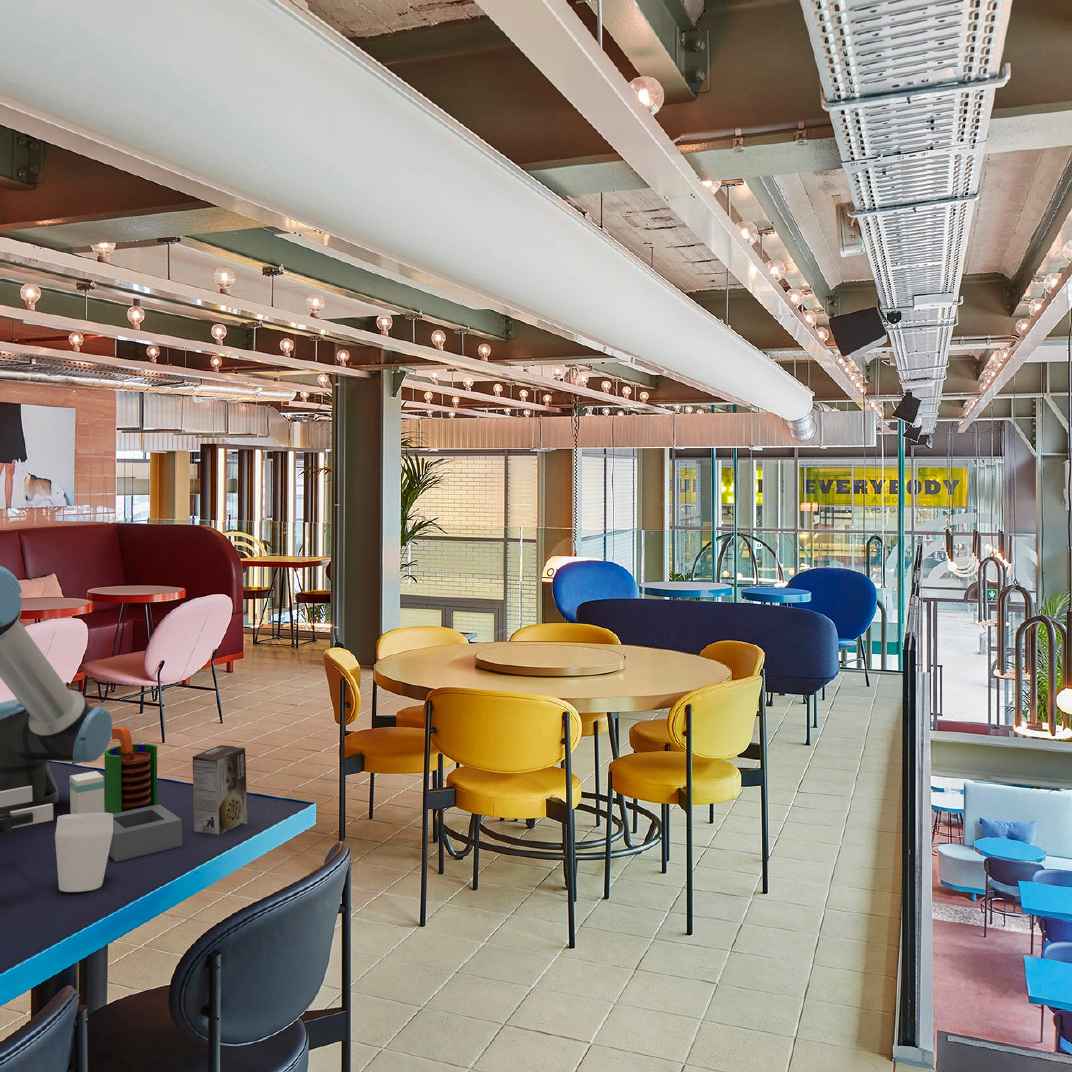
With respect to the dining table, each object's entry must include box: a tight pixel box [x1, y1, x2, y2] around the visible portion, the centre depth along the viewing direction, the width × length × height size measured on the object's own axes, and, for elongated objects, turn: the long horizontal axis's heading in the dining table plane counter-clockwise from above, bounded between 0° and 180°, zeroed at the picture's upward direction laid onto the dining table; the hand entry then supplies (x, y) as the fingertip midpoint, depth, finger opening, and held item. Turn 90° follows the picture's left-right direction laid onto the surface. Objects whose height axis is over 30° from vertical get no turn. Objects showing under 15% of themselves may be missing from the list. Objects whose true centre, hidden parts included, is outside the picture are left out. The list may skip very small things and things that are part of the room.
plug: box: [68, 770, 105, 814], centre depth 176 cm, size 5×5×16 cm
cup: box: [54, 813, 113, 893], centre depth 164 cm, size 9×9×12 cm
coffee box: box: [192, 744, 248, 835], centre depth 193 cm, size 9×6×16 cm
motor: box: [104, 726, 158, 814], centre depth 195 cm, size 10×9×20 cm
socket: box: [108, 803, 183, 862], centre depth 182 cm, size 12×12×6 cm
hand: (42, 802), depth 171 cm, fingers open, 13 cm apart
